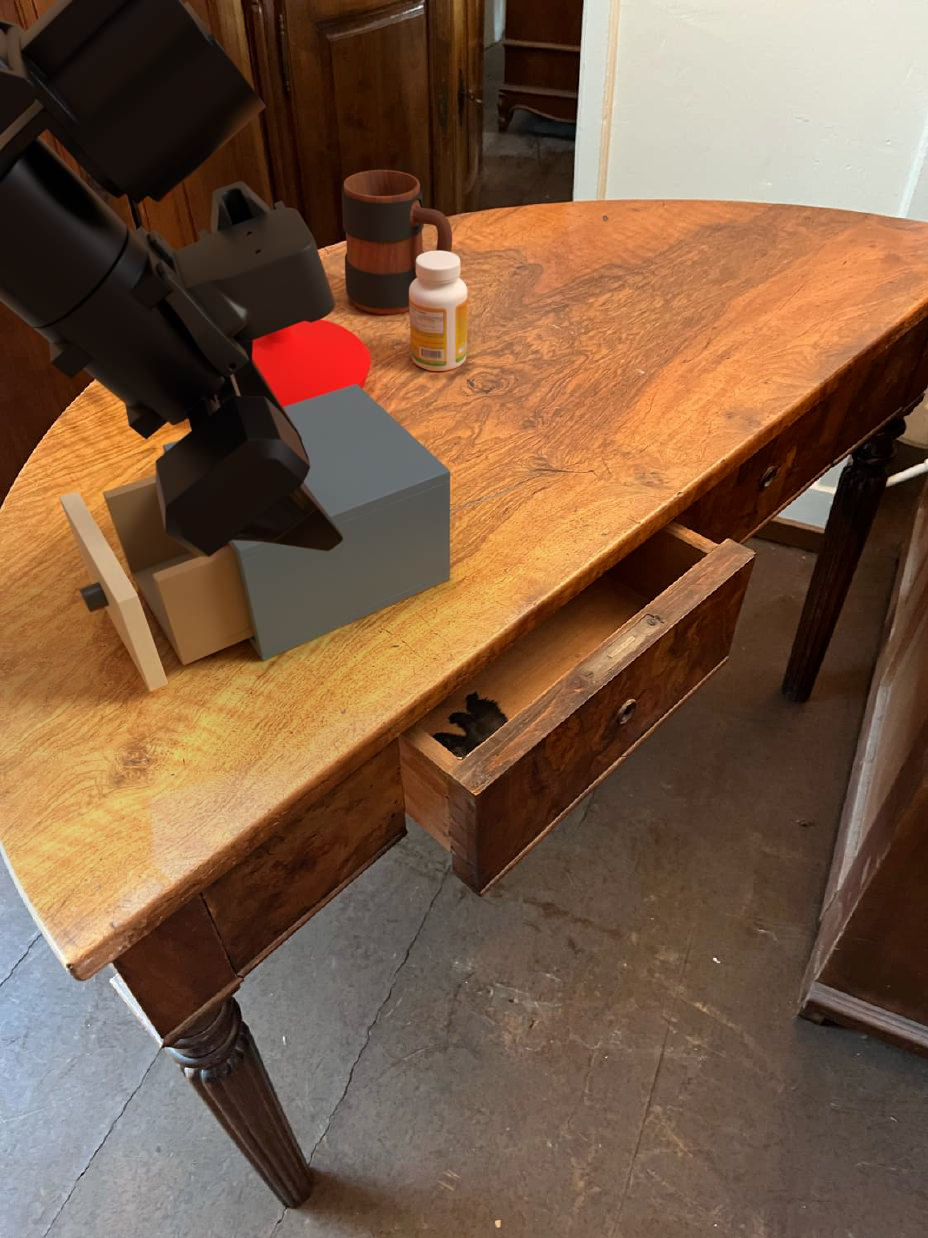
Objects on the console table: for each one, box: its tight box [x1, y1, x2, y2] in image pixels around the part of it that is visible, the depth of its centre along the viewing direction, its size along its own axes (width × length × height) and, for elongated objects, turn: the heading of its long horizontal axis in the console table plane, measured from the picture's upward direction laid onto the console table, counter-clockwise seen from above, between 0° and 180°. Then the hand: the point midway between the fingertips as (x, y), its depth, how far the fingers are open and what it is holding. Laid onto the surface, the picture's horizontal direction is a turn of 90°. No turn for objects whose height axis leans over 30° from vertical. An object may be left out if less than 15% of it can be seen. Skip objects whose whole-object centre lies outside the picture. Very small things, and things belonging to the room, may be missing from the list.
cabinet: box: [162, 384, 451, 662], centre depth 61 cm, size 15×13×10 cm
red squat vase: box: [252, 319, 372, 407], centre depth 79 cm, size 16×16×7 cm
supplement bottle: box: [409, 250, 468, 372], centre depth 83 cm, size 5×5×10 cm
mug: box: [341, 169, 453, 315], centre depth 90 cm, size 9×12×12 cm
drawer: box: [58, 474, 254, 693], centre depth 58 cm, size 15×11×8 cm
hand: (314, 491), depth 48 cm, fingers open, 9 cm apart
